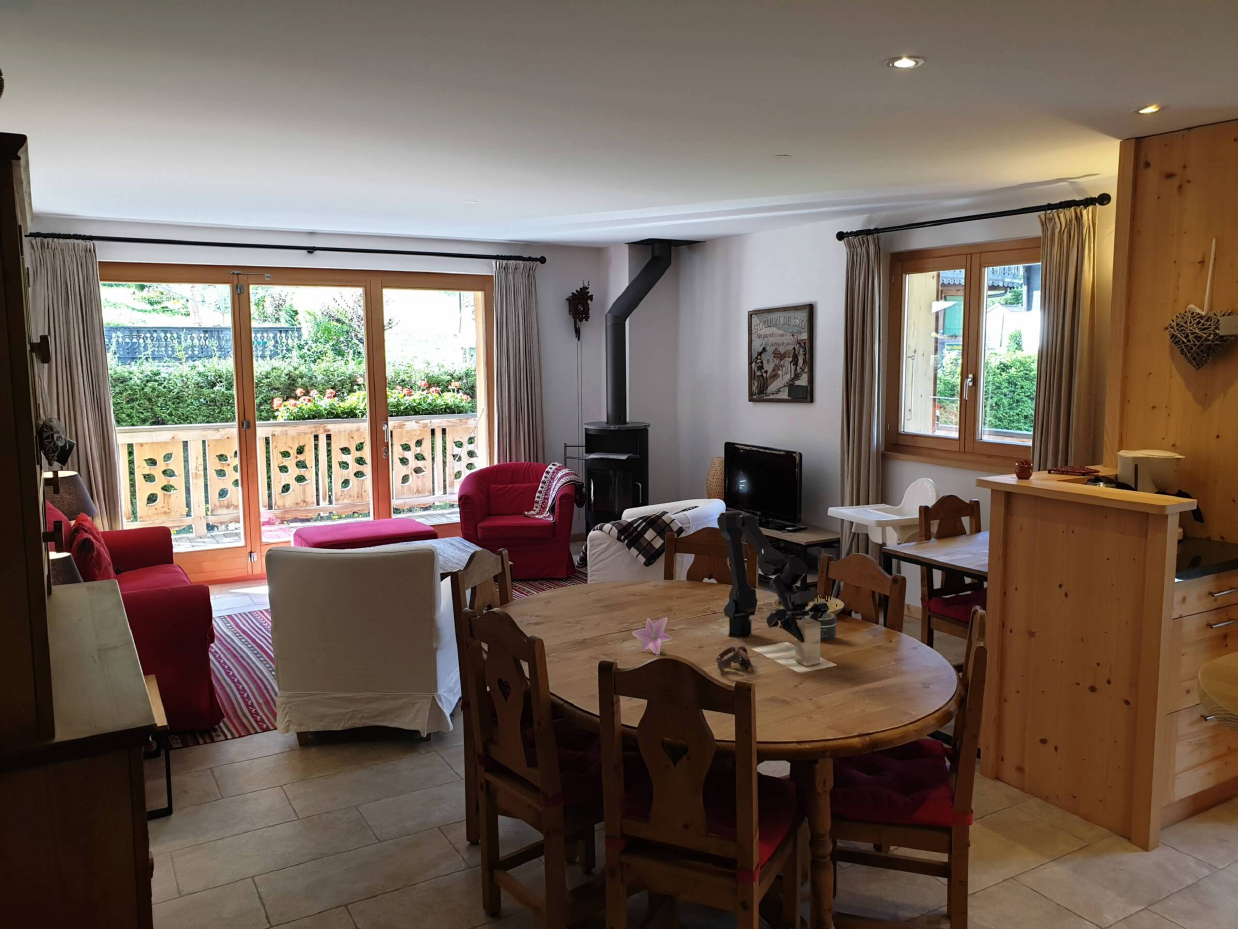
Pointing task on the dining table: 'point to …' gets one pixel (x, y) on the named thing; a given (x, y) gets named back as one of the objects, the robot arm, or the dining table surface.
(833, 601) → the plant saucer
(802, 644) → the beige tall block
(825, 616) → the jar
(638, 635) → the lily
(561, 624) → the dining table surface
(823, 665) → the birch board
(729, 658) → the brown looped strap
